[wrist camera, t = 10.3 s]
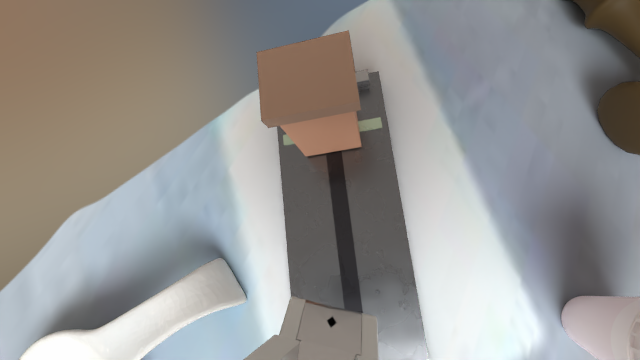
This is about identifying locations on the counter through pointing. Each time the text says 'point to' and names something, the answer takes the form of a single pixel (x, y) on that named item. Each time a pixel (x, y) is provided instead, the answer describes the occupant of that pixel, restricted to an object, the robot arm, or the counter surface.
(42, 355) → the spoon rest
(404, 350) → the fader track
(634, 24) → the kendama
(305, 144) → the fader knob
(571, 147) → the counter surface
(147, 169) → the counter surface
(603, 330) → the smoothie
